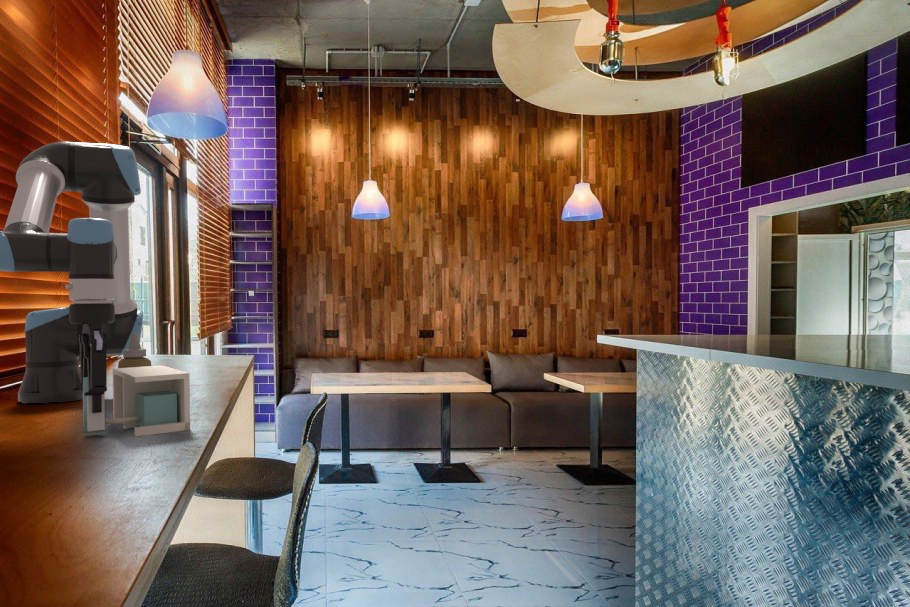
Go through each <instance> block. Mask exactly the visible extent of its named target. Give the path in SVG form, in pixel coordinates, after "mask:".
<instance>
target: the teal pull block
mask: <svg viewBox="0 0 910 607" xmlns="http://www.w3.org/2000/svg"><path fill="white" fill-rule="evenodd" d="M88 391H89V390H88V377H85V378H83V399H82V417H84V427H83V434H84V433H85V434H95V433H102V432H105V431H106V429H105V430H96V431H88V428H87V396H84V393H85V392H88ZM105 398H106V397H104V420H105V426H106V425H114V424H115V425H116V424H123V423H125V422H134V421H136V424H137V425H139V426H141V427H142V426H151V425H159V424H168V423H177V394H176V393H173V392H170V391H157V392H145V393H136V416H132V417H122V418H113V417H112V418H106V416H105V414H106V413H105V411H106V410H105V409H106V408H105V407H106V405H105V401H106V400H105Z"/></svg>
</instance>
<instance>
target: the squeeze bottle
mask: <svg viewBox="0 0 910 607" xmlns="http://www.w3.org/2000/svg"><path fill="white" fill-rule="evenodd" d="M141 346H142V345H141V341H140V342H139V338H138V334H137V333H131V337H130V342H129V346H128V349H124V350H123V355H122V357H123V358H121V359H120V360H118V364H117V366H118V367H117V368H130V367H145V366H152V361H151V359H149V358H148V357H146V356H147V348H142V347H141Z"/></svg>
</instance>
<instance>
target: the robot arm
mask: <svg viewBox="0 0 910 607" xmlns="http://www.w3.org/2000/svg"><path fill="white" fill-rule="evenodd" d="M136 158H137V157H136V154H135V151H134V150H133V149H132V148H131V147H129V146H125V145H119V144H113V143H96V142H95V143H94V142H92V143H91V142H78V141H77V142H75V141H74V142H73V141H66V140H64V141H62V140H61V141H55V142H52V143H47V144H45V145H42V146H40V147H39V148H36V149H35V150H33V151H31V152H30V153H29V154H28V155H26V156H25V157H23V160H22V161H21V162H20V163H19V165H18V166H17V170H16V174H15V181H16V184H17V188H16V191H15V193H14V197H13V200H12V203H11V207H10V209H9V213H8V216H7V218H6V222H5V225H4V228H3V230H0V272H9V273H14V272H15V273H19V272H23V273H24V272H28V273H29V272H31V273H32V272H35V273H36V272H46V273H47V272H51V273H52V272H53V273H55V272H57V273H59V272H61V273H68V284H65V288H64V289H66V290H69V291H68V299H69V300H70V301H72V303H70V304H69V305H68V306H65V307H58V308H50V309H42V310H34V311H31V312H28V314H26V317H25V325H24V327H25V328H24V330H23V331H24V333H25V335H24V336H25V372H24V376H23V378H22V381H21V384H20V387H19V390H18V392H17V402H18V401H19V402H22V403H21V404H26V403H44V404H49V403H48V402H59V403H66V402H67V403H68V402H73V401H80V400H83V378H85V377H88V390H89V391H88V392H85V393H84V396H87V428H88V431H96V430H105V431H106V425H105V420H104V398H105V393H106V392H107V391H108V387H107V380H108V379H107V375H108V374H107V371H108V370H107V365H108V364H107V357H111V356H113V357H116V356H118V357H121V356H123V350H124V349H128V346H129V342H130V337H131V333H137V334H138V338H139V342H140V343H141V338H142V331H143V328H142V327H143V320H144V311H143V310H140V309H138V304H137V302H135V301H134V299H132V298H131V270H130V269H131V266H130V237H129V236H130V235H129V234H130V233H129V230H130V227H129V207H131V206H132V205H133V204H134V203H135V196H139V195H140V194H141V192H142V189H141V184H140V183H141V181H140V174H139V168H138V164H137V159H136ZM62 192H72V193H80V194H81V201H82V202H83V203H84V205H86V206H87V207H88V209H89V210H88V211H89V212H88V213H89V217H76V218H75V217H74V218H72V219H70V220H69V221H68V223H67V224H68V225H67V233H66V232H65V233H64V232H59V233H58V232H50V228H51V226H52V222H53V216H54V211H55V207H56V204H57V198H58V196H59V195H61V193H62ZM19 402H18V403H19ZM82 417H83V416H82ZM82 419H83V420H82V422H83V423H82V424H83V425H82V426H83V428H84V417H83V418H82Z"/></svg>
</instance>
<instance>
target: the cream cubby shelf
mask: <svg viewBox="0 0 910 607" xmlns="http://www.w3.org/2000/svg"><path fill="white" fill-rule="evenodd" d="M190 388H191V387H190V372H187V371H183V370H179V369H176V368H173V367H169V366H165V365H163V364H161V365H151V366H145V367H130V368H118V367H116V368H115V367H114V368H112V415H113V416H112V419H113V418H122V417H132V416H136V393H145V392H157V391H170V392H173V393H176V394H177V423H168V424H159V425H151V426H142V427H141V426H139V425H137V424H136V421H134V422H125V423H122V424H123V427H122V428H123V429H124V430H127V429H128V430H129V429H133V434H134V435H133V436H135V437H141V436H142V437H143V436H152V435H158V434H165V433H166V434H167V433H175V432H182V431H183V432H184V431H191V406H190V405H191V401H190V400H191V398H190V397H191V394H190V390H191V389H190Z"/></svg>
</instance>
